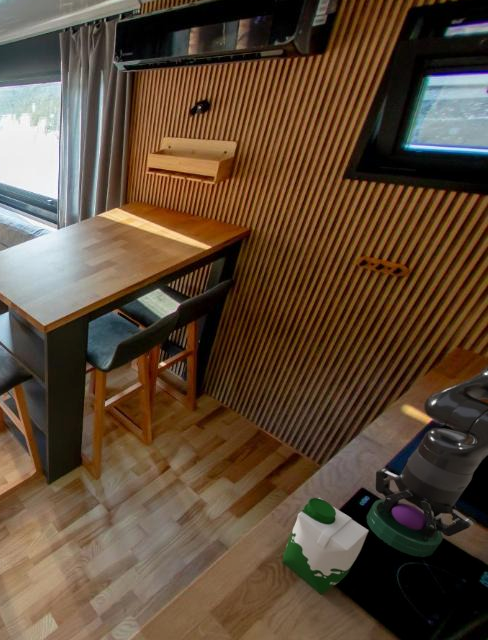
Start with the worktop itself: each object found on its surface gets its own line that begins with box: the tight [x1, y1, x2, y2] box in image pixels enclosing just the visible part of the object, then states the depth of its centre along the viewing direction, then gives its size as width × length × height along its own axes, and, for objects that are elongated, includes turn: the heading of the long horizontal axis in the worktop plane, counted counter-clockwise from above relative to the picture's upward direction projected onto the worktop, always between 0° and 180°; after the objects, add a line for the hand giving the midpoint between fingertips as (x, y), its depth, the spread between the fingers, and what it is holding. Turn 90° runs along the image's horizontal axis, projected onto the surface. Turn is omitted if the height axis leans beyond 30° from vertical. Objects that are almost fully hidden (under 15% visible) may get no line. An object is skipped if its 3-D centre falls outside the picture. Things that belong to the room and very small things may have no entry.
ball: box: [392, 503, 427, 530], centre depth 81 cm, size 5×5×5 cm
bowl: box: [366, 498, 444, 558], centre depth 82 cm, size 10×10×6 cm
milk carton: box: [281, 497, 369, 595], centre depth 76 cm, size 9×9×20 cm
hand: (405, 521), depth 81 cm, fingers closed on ball, 5 cm apart
